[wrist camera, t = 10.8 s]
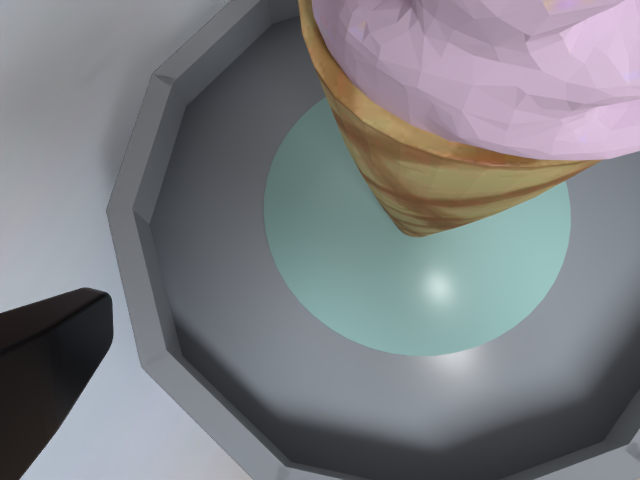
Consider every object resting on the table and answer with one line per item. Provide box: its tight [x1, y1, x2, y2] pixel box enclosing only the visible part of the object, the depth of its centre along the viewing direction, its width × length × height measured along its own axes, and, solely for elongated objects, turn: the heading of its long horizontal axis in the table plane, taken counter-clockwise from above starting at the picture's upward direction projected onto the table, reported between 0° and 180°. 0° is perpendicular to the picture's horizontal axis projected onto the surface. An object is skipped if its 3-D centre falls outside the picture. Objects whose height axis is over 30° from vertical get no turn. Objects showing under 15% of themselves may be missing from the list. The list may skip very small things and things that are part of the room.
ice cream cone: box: [298, 0, 640, 237], centre depth 10 cm, size 7×6×15 cm
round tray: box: [106, 0, 640, 480], centre depth 18 cm, size 19×19×2 cm
